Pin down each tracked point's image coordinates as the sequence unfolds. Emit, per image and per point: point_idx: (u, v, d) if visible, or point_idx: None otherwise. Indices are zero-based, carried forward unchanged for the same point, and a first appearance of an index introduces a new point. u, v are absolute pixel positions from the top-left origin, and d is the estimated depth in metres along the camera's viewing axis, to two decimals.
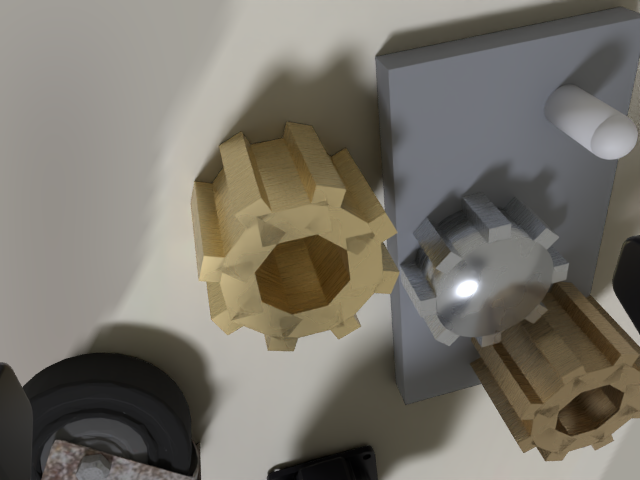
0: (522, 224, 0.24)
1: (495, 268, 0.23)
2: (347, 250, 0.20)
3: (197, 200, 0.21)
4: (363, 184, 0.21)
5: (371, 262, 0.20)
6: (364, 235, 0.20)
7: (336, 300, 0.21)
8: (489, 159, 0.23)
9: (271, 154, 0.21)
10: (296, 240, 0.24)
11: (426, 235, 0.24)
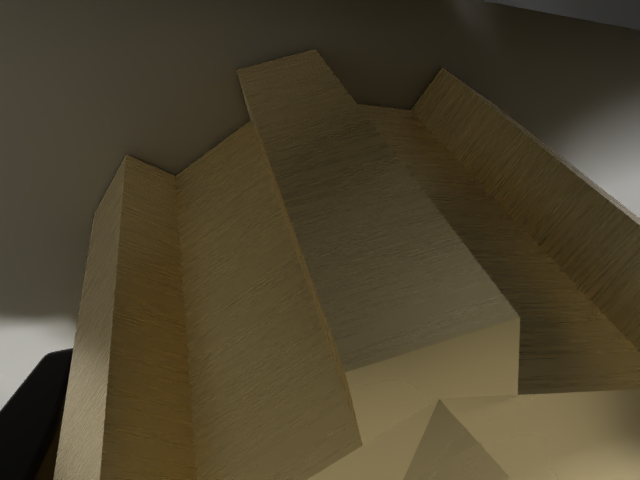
0: None
1: None
2: None
3: None
4: (280, 198, 0.05)
5: (588, 430, 0.04)
6: (420, 456, 0.04)
7: None
8: None
9: None
10: None
11: None
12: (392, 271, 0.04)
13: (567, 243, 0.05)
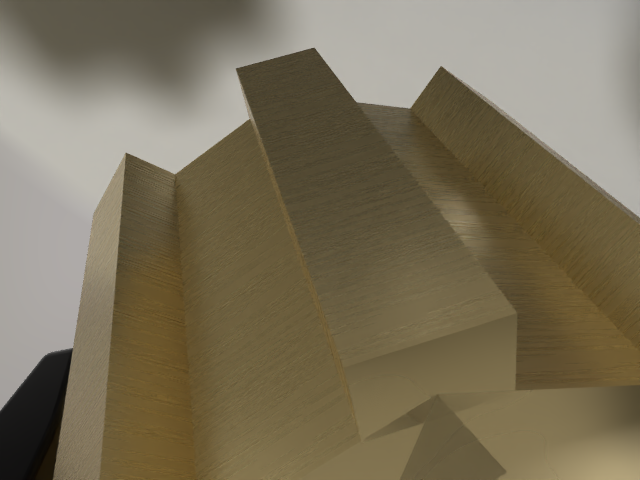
0: None
1: None
2: None
3: None
4: (280, 195, 0.05)
5: (585, 426, 0.04)
6: (419, 452, 0.04)
7: None
8: None
9: None
10: None
11: None
12: (391, 268, 0.04)
13: (565, 241, 0.05)
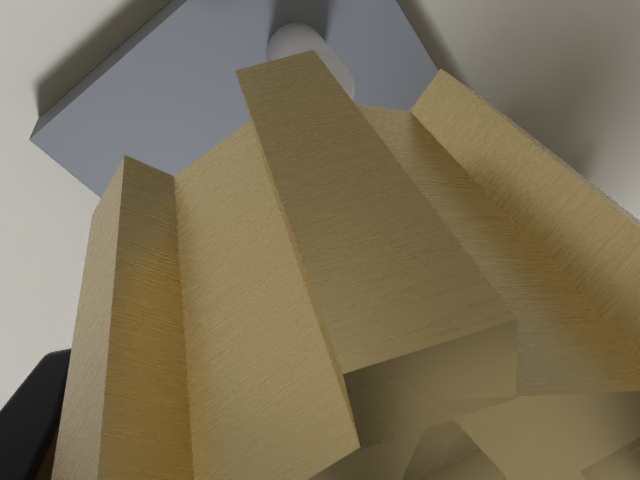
0: None
1: None
2: None
3: None
4: (279, 199, 0.05)
5: (586, 431, 0.04)
6: (420, 458, 0.04)
7: None
8: None
9: None
10: None
11: None
12: (390, 273, 0.04)
13: (565, 244, 0.05)
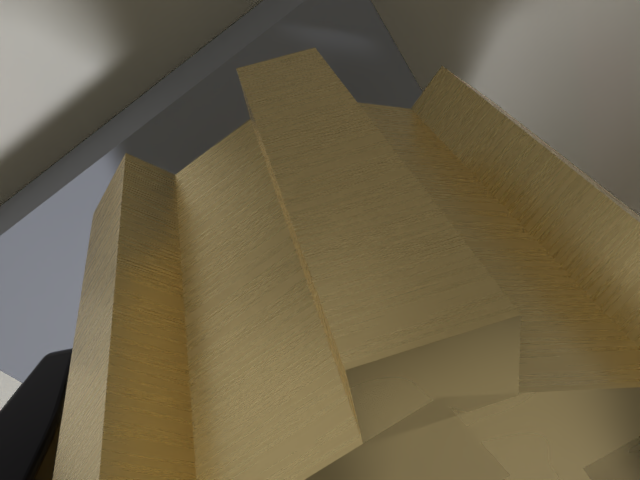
0: None
1: None
2: None
3: None
4: (280, 195, 0.05)
5: (589, 428, 0.04)
6: (422, 455, 0.04)
7: None
8: None
9: None
10: None
11: None
12: (393, 268, 0.04)
13: (568, 241, 0.05)
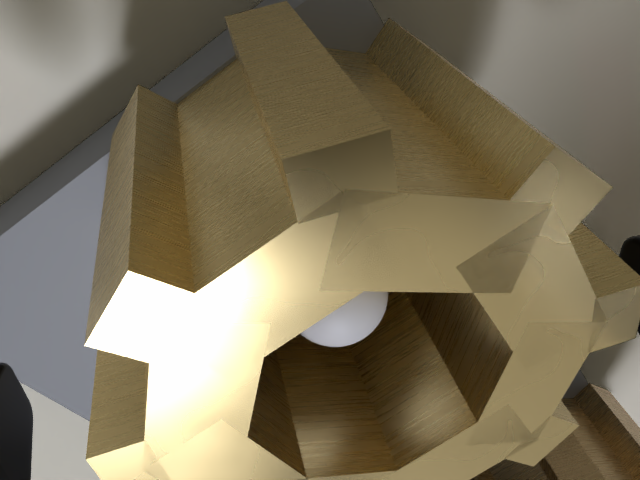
0: None
1: None
2: (366, 289, 0.06)
3: None
4: (252, 90, 0.07)
5: (453, 230, 0.06)
6: (339, 238, 0.06)
7: (513, 332, 0.07)
8: None
9: None
10: None
11: None
12: (319, 115, 0.06)
13: (459, 126, 0.07)
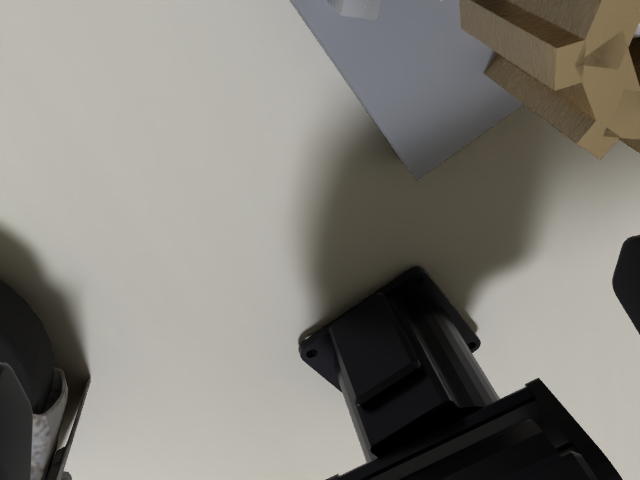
0: None
1: None
2: None
3: None
4: None
5: None
6: None
7: None
8: None
9: None
10: None
11: None
12: None
13: None
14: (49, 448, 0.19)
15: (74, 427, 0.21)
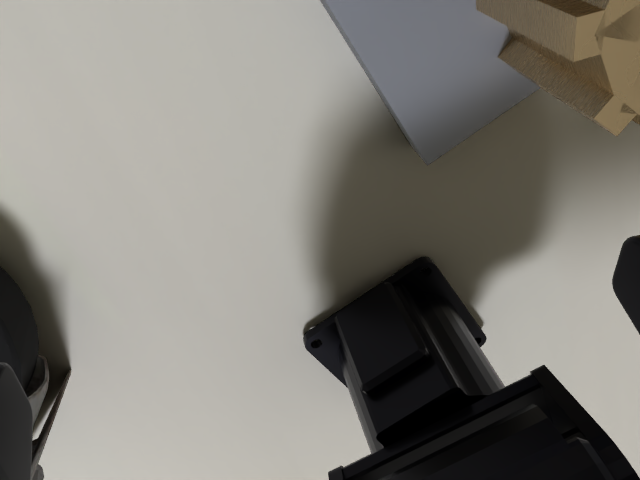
0: None
1: None
2: None
3: None
4: None
5: None
6: None
7: None
8: None
9: None
10: None
11: None
12: None
13: None
14: None
15: (52, 417, 0.20)
